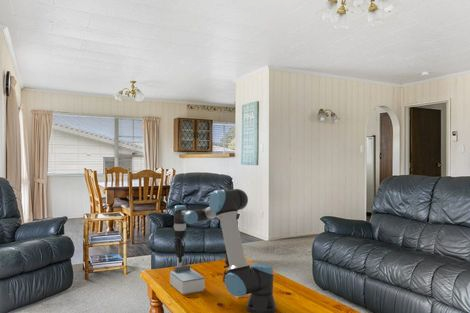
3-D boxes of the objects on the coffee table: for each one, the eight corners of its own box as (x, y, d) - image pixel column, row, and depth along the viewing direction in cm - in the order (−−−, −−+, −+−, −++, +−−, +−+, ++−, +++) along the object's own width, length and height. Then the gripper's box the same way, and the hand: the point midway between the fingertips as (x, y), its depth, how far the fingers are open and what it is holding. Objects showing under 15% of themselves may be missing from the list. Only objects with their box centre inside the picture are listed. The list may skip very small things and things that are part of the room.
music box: (231, 285, 223) (229, 252, 224) (218, 283, 230) (216, 251, 231) (246, 279, 235) (244, 248, 236) (232, 277, 242) (231, 246, 243)
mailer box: (204, 290, 214) (204, 278, 214) (182, 295, 206) (182, 282, 206) (190, 280, 231) (190, 269, 231) (169, 284, 224) (170, 273, 224)
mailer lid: (204, 278, 214) (204, 272, 214) (182, 282, 206) (182, 275, 206) (190, 269, 231) (190, 263, 231) (170, 272, 224) (170, 266, 224)
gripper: (170, 228, 233) (170, 265, 233) (178, 232, 222) (177, 270, 222) (181, 227, 237) (180, 263, 237) (189, 231, 226) (188, 268, 225)
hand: (179, 266), depth 229 cm, fingers closed
